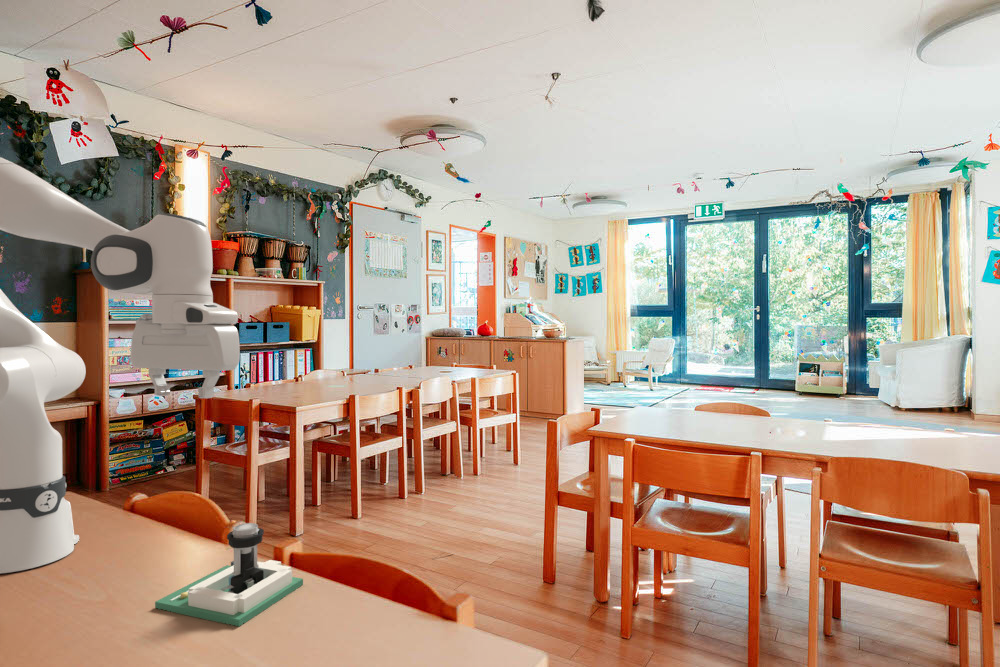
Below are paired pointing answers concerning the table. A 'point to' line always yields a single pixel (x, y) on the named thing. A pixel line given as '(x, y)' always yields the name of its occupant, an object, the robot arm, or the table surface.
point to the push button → (245, 557)
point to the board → (221, 616)
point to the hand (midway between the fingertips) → (183, 396)
